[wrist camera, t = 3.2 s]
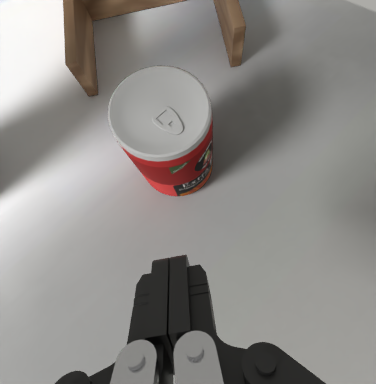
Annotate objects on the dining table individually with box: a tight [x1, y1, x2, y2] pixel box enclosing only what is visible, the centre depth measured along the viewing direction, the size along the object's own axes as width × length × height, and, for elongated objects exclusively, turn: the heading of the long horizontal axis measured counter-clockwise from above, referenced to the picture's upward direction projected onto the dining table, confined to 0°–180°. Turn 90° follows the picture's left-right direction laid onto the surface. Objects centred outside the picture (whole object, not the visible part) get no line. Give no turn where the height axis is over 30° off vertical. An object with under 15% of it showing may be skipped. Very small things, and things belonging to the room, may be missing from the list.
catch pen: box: [63, 0, 246, 96], centre depth 32 cm, size 19×14×6 cm
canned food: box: [108, 65, 213, 196], centre depth 24 cm, size 8×8×11 cm
